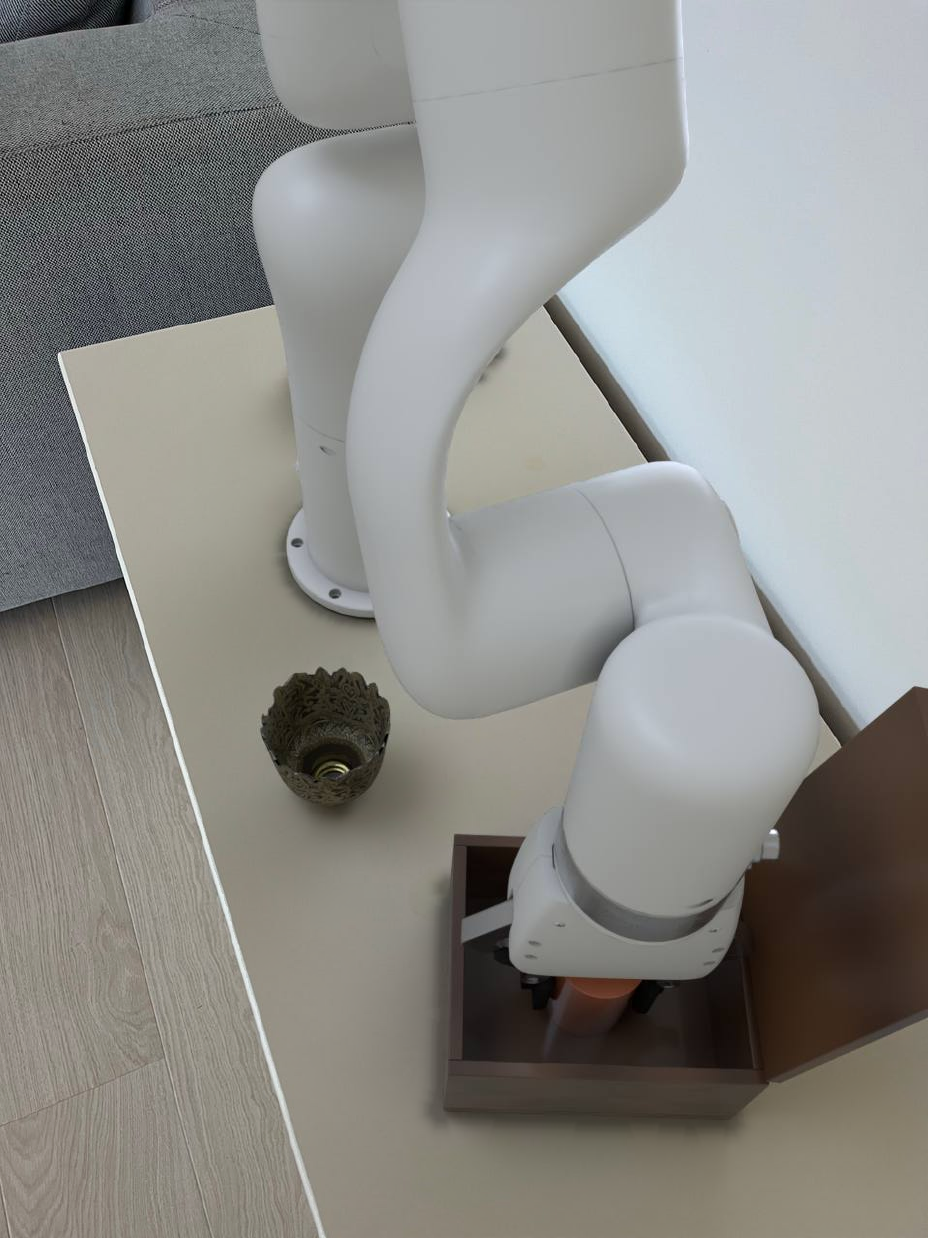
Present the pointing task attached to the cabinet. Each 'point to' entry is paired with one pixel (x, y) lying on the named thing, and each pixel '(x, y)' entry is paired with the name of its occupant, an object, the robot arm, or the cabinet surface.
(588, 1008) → the glossy terracotta cylinder
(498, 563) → the robot arm
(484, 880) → the chest
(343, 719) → the cup
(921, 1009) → the lid
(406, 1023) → the cabinet surface
